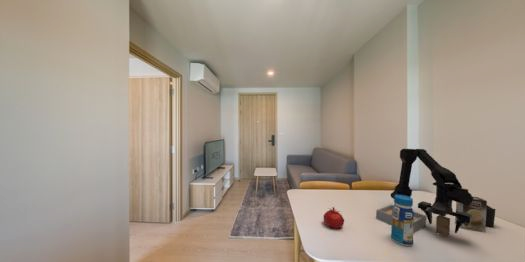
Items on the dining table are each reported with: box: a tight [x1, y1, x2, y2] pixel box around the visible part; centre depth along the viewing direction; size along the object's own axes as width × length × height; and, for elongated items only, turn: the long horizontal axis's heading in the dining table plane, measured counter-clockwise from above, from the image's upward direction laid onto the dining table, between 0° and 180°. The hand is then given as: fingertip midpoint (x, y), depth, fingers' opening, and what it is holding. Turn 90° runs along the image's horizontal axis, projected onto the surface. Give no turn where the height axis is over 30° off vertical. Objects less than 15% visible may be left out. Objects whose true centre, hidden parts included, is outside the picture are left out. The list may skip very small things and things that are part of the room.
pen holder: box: [485, 204, 496, 228], centre depth 104 cm, size 9×9×10 cm
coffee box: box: [454, 196, 488, 233], centre depth 99 cm, size 9×6×16 cm
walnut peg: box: [435, 215, 451, 238], centre depth 92 cm, size 4×4×8 cm
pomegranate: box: [323, 207, 345, 229], centre depth 96 cm, size 10×10×9 cm
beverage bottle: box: [390, 195, 415, 247], centre depth 84 cm, size 8×8×20 cm
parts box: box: [375, 204, 427, 233], centre depth 103 cm, size 17×17×5 cm
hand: (442, 228), depth 92 cm, fingers open, 9 cm apart
